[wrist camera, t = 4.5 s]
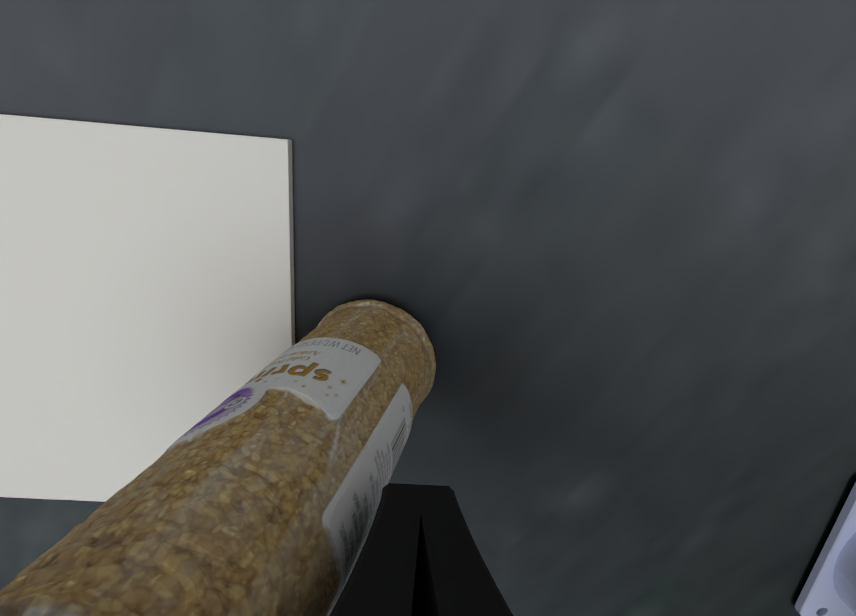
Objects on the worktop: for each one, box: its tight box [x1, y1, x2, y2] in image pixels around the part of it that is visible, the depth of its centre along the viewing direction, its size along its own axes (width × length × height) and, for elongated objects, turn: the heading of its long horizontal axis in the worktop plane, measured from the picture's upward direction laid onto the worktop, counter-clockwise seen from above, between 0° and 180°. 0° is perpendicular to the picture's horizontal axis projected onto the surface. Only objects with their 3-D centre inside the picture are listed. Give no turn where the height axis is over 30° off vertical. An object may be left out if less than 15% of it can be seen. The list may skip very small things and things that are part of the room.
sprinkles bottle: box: [0, 299, 436, 616], centre depth 10 cm, size 5×5×13 cm
